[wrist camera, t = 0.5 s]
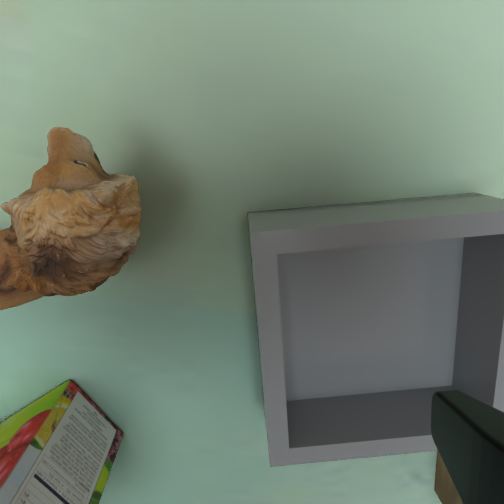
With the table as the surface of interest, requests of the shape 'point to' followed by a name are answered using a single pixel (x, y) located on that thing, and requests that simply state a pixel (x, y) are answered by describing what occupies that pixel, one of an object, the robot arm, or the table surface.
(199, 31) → the table surface
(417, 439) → the grey square tray
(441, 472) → the walnut cube
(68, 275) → the lion figurine
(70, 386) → the snack box
